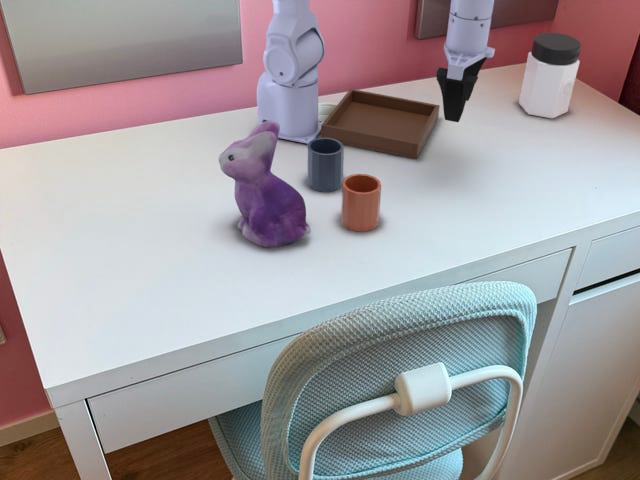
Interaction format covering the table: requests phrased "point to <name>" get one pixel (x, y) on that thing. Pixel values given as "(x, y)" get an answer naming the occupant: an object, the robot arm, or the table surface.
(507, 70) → the table surface
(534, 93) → the jar
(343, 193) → the orange cup
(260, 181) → the figurine
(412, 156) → the tray
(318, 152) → the blue cup
